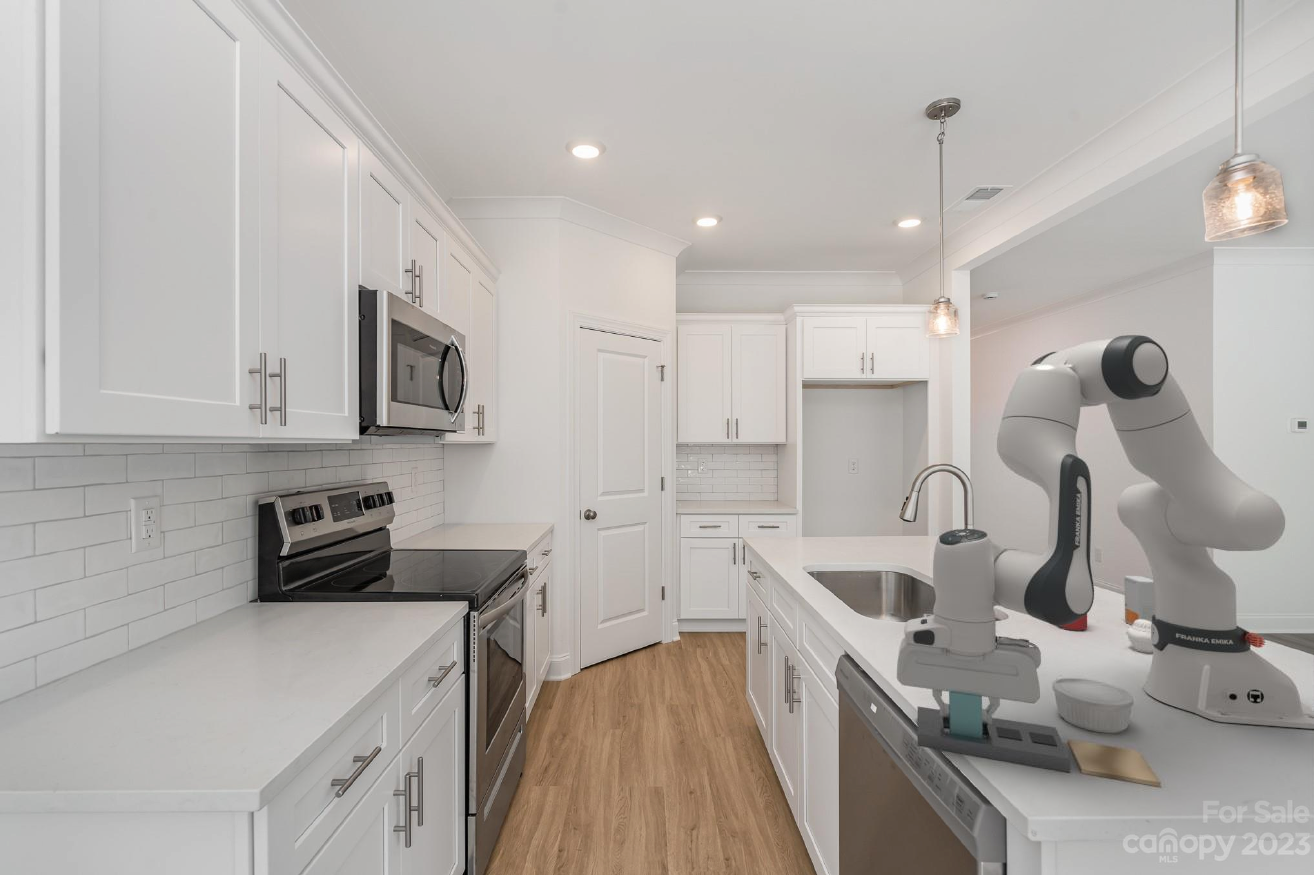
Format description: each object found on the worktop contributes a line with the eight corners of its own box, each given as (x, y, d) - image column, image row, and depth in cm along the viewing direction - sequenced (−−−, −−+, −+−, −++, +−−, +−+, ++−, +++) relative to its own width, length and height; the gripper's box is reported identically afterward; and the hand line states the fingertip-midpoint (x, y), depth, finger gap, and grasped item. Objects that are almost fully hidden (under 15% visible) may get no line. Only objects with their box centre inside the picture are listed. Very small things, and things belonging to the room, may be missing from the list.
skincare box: (1123, 622, 153) (1123, 575, 153) (1142, 622, 152) (1141, 575, 152) (1139, 630, 147) (1139, 581, 147) (1159, 630, 146) (1158, 581, 146)
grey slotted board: (1055, 740, 95) (1055, 726, 95) (1070, 772, 86) (1069, 758, 86) (917, 718, 103) (917, 705, 103) (917, 745, 94) (917, 732, 94)
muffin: (1162, 649, 134) (1161, 618, 134) (1162, 657, 129) (1161, 625, 129) (1126, 643, 138) (1126, 613, 138) (1125, 651, 133) (1125, 619, 133)
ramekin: (1083, 702, 109) (1082, 673, 109) (1151, 730, 98) (1150, 698, 98) (1036, 712, 105) (1036, 681, 105) (1102, 742, 94) (1101, 709, 94)
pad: (1138, 754, 90) (1138, 750, 90) (1160, 787, 82) (1160, 782, 82) (1067, 743, 94) (1067, 739, 94) (1081, 773, 86) (1081, 768, 86)
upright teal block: (980, 735, 97) (979, 686, 97) (982, 748, 93) (981, 697, 93) (949, 730, 99) (948, 681, 99) (951, 743, 95) (950, 692, 95)
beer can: (1093, 631, 146) (1093, 582, 146) (1066, 631, 146) (1065, 582, 146) (1075, 623, 153) (1074, 576, 153) (1049, 623, 153) (1048, 576, 153)
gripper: (1036, 634, 94) (1038, 722, 94) (896, 620, 103) (897, 701, 103) (1044, 647, 89) (1045, 741, 89) (895, 631, 97) (896, 717, 97)
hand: (965, 719), depth 96 cm, fingers closed on upright teal block, 4 cm apart
